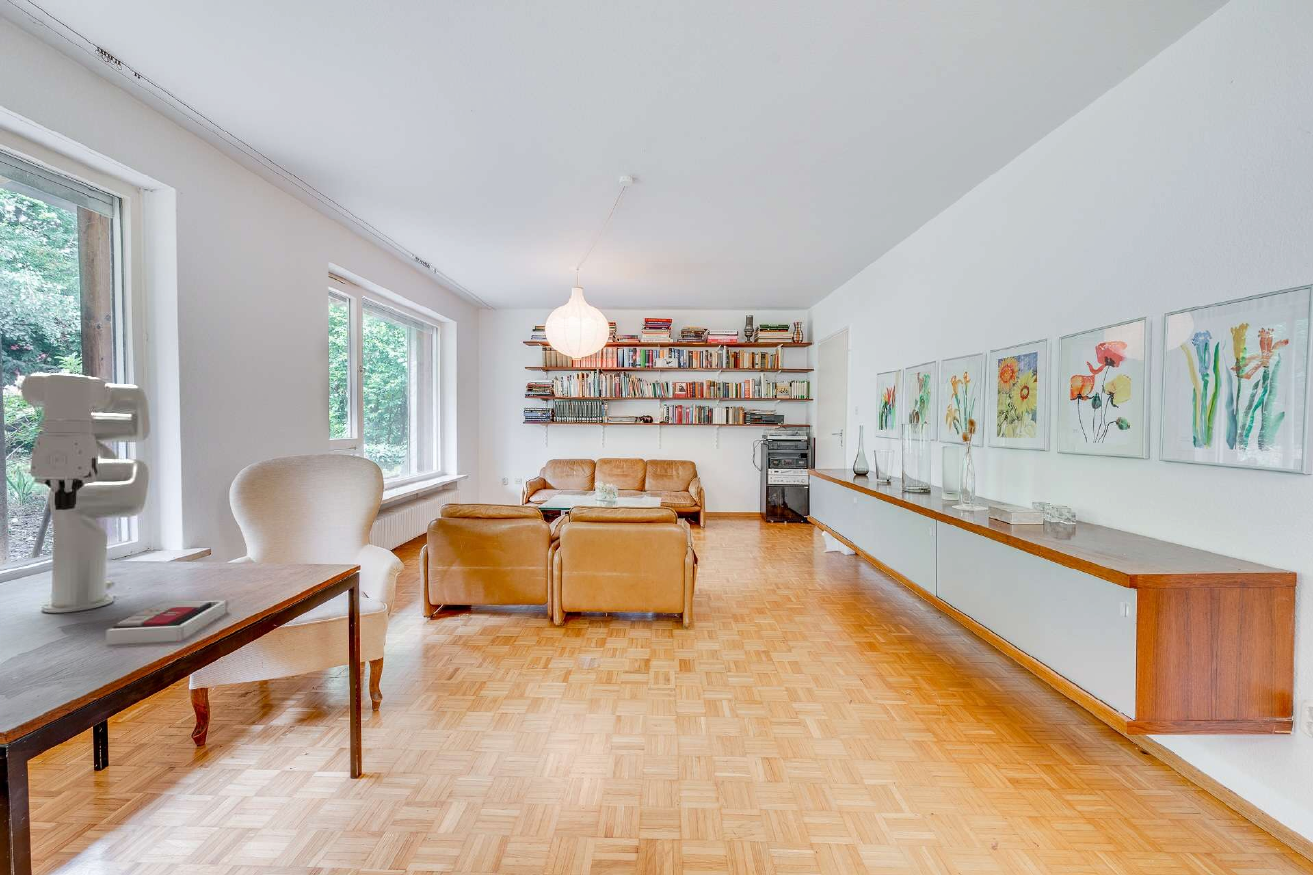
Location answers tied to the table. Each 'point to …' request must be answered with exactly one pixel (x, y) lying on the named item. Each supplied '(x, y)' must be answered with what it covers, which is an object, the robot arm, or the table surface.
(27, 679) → the table surface
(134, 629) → the white u-shaped fence
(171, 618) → the calculator
